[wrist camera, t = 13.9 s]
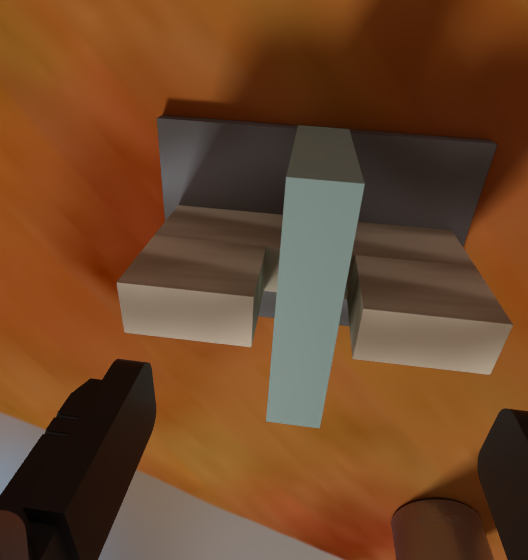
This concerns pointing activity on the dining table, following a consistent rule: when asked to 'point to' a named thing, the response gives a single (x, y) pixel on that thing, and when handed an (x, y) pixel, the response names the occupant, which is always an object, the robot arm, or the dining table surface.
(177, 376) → the dining table surface
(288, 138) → the stand
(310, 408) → the sage crossbar
